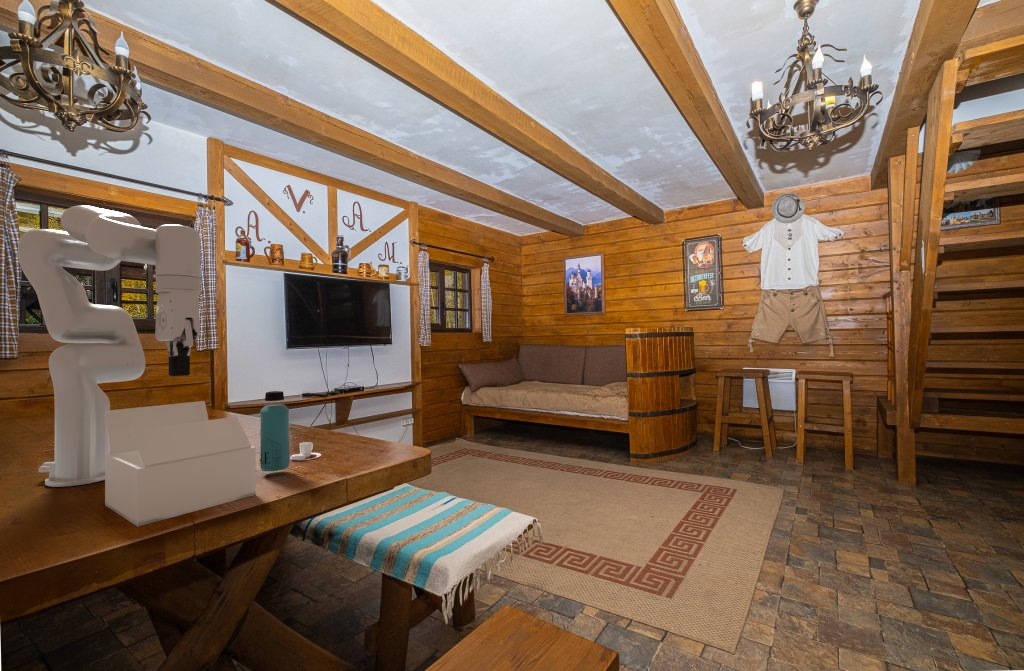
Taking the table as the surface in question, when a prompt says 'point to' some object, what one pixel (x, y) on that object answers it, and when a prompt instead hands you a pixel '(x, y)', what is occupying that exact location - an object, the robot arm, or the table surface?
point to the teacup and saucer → (305, 452)
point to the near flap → (189, 440)
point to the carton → (176, 484)
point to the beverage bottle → (274, 434)
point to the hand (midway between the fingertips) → (179, 375)
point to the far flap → (148, 421)
